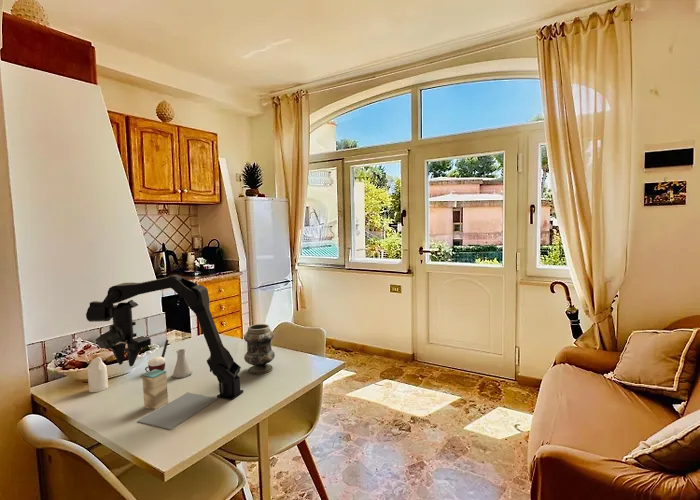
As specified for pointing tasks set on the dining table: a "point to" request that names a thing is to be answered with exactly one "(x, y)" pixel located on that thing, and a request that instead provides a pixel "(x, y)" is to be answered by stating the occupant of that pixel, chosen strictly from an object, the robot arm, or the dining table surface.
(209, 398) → the slate pad
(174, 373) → the flask
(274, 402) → the dining table surface
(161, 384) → the brown and teal block
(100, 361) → the white rounded block
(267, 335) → the apothecary jar
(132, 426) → the dining table surface
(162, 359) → the cocoa
